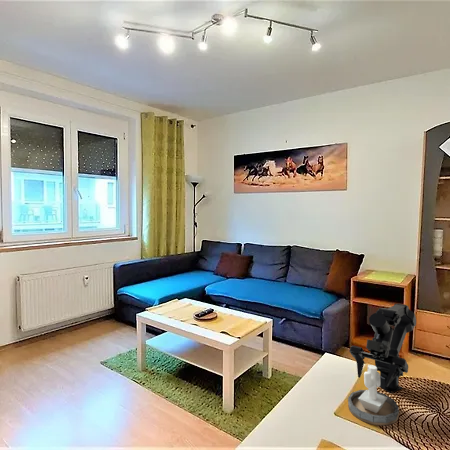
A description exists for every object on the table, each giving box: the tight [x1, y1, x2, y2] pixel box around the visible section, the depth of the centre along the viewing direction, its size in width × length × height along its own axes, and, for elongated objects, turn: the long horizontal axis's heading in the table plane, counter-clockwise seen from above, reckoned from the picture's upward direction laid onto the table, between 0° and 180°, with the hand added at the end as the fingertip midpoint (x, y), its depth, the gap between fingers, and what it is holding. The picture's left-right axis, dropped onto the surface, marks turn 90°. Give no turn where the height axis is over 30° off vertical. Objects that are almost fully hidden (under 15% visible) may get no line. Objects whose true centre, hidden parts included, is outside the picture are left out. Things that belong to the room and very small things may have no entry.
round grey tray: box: [347, 389, 400, 423], centre depth 115 cm, size 16×16×2 cm
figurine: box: [358, 364, 387, 413], centre depth 115 cm, size 7×9×15 cm
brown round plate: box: [348, 397, 400, 426], centre depth 115 cm, size 16×16×1 cm
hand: (372, 381), depth 114 cm, fingers open, 9 cm apart
